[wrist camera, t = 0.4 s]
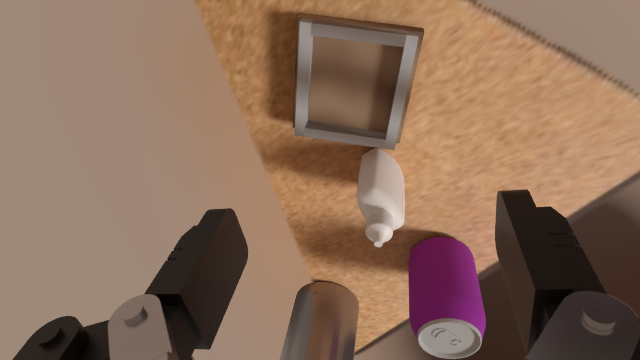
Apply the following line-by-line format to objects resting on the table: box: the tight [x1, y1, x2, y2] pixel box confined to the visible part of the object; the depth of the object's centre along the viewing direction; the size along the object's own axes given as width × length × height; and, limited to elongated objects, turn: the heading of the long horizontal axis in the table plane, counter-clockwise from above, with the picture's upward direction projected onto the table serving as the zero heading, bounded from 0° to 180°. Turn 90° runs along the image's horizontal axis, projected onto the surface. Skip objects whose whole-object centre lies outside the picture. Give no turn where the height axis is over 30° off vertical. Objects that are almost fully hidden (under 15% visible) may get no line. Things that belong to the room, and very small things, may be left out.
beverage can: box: [408, 237, 486, 359], centre depth 46 cm, size 8×8×12 cm
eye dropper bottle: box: [356, 148, 405, 247], centre depth 40 cm, size 4×6×12 cm
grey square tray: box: [293, 13, 424, 150], centre depth 38 cm, size 11×11×3 cm
